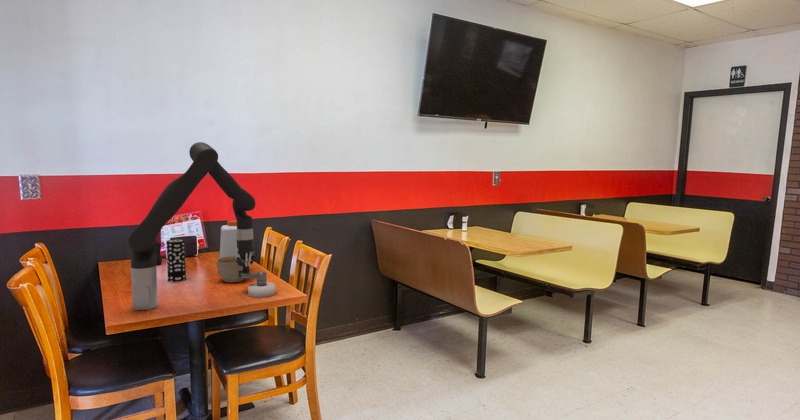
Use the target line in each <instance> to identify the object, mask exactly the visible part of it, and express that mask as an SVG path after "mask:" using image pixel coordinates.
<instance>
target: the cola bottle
mask: <svg viewBox="0 0 800 420" xmlns="http://www.w3.org/2000/svg"><path fill="white" fill-rule="evenodd" d="M161 232H162V229H161V230H160V232H159V233H158V235H157V236H156V237H157V259H156V267H157V265H158V266H160V265H161V264H162V263H163V256H162V254H161V251H162V233H161Z"/></svg>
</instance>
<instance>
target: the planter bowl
mask: <svg viewBox="0 0 800 420" xmlns="http://www.w3.org/2000/svg"><path fill="white" fill-rule="evenodd" d="M234 257H236V256H229V257H222V258H220V257H219V258H217V259H216V261H215V263H216V267H217V272H218V273H219V275H220V277H221V278H222V279H223V282H225V283H238V282H242V281H244V278H243V277H238V270H243V267H242V266H239V265H238V264H237V262H236V261H235V260H234Z"/></svg>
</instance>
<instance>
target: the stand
mask: <svg viewBox="0 0 800 420" xmlns="http://www.w3.org/2000/svg"><path fill="white" fill-rule="evenodd" d="M247 295H248V296H249V297H252V298H258V299H260V298H268V297H271V296H274V295H276V283H275V282H271V281H267V285H265V286H257V281H256V282H252V283H248V286H247Z"/></svg>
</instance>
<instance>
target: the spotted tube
mask: <svg viewBox="0 0 800 420" xmlns="http://www.w3.org/2000/svg"><path fill="white" fill-rule="evenodd" d="M165 242H166V244H165V245H166V265H167V266H166V269H167V282H170V283H178V282H179V283H180V282H184V281H186V279H187V271H186V270H187V269H186V268H187V267H186V241H185V239H178V238H177V239H169V240H166V241H165Z"/></svg>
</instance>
